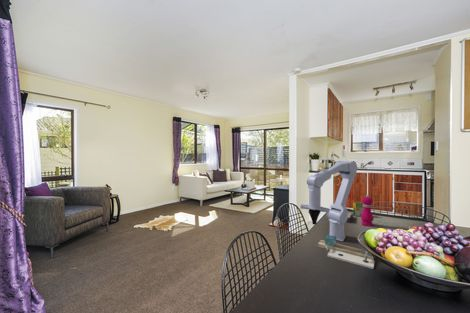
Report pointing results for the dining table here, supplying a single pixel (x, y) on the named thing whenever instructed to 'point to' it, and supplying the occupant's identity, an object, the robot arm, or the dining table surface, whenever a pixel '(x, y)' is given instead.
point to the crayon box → (358, 208)
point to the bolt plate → (351, 258)
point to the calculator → (349, 217)
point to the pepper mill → (367, 211)
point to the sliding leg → (330, 241)
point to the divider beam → (347, 250)
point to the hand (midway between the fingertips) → (314, 223)
